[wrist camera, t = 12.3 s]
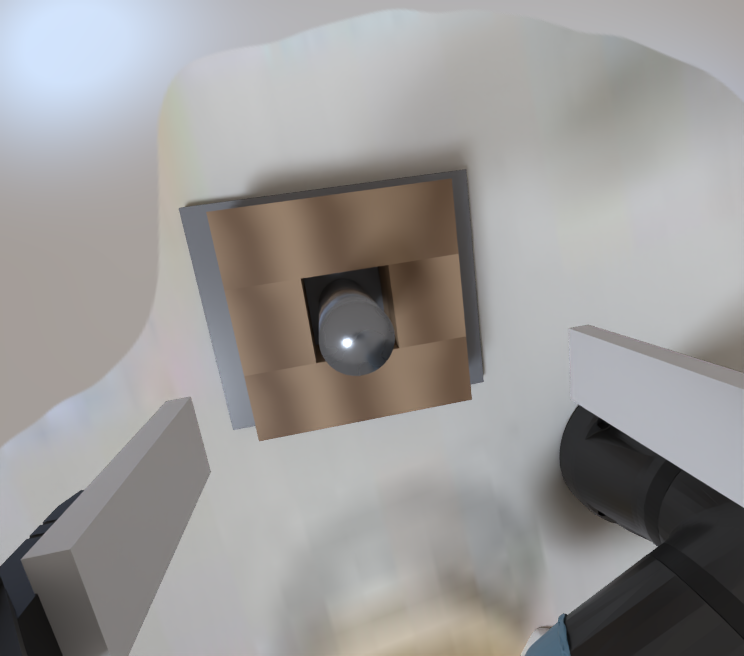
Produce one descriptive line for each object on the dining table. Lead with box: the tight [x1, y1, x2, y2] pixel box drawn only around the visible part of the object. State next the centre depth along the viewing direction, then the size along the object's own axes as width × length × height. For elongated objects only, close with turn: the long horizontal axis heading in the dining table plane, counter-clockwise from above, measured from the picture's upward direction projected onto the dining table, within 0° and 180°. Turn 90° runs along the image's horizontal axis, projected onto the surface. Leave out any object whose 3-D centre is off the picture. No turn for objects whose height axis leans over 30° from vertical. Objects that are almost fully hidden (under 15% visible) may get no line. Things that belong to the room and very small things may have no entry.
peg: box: [319, 279, 395, 376], centre depth 27 cm, size 4×4×12 cm
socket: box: [179, 169, 484, 441], centre depth 31 cm, size 22×18×6 cm
